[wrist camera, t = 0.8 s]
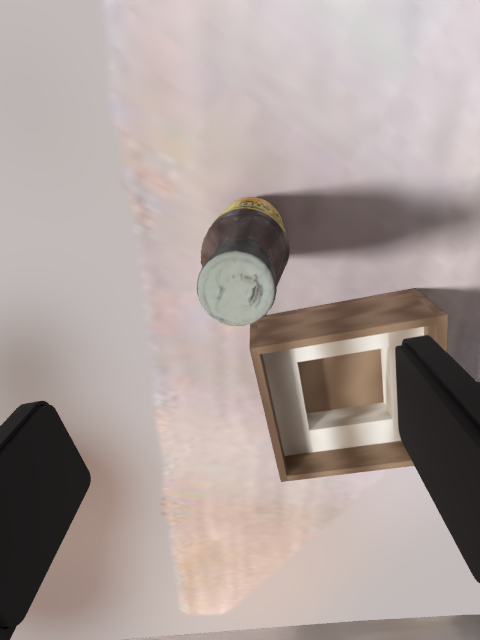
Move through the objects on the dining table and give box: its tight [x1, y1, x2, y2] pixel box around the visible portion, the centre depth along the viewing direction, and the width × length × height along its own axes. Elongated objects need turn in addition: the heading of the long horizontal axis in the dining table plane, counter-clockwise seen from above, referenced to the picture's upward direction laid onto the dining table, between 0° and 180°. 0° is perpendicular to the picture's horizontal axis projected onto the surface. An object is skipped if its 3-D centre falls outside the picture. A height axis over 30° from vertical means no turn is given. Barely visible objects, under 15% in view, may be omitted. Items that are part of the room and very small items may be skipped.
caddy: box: [250, 288, 448, 482], centre depth 39 cm, size 18×18×7 cm
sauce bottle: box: [197, 197, 289, 326], centre depth 27 cm, size 6×6×20 cm
